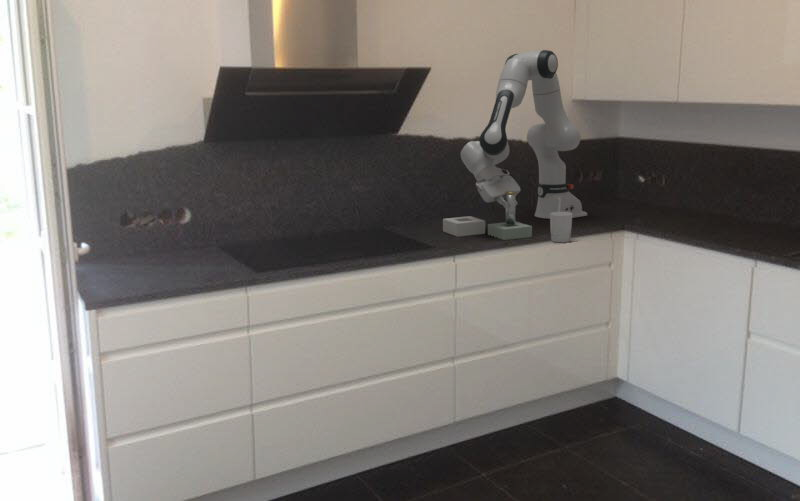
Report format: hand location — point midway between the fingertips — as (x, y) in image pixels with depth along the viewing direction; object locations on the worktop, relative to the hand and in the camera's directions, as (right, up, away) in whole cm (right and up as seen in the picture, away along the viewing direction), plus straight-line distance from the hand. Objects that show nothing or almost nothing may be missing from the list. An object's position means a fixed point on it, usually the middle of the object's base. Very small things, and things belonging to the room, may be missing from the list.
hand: (511, 206), depth 277 cm
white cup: (+16, -13, -8) cm, 23 cm away
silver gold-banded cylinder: (0, -6, +2) cm, 7 cm away
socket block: (0, -11, +3) cm, 11 cm away
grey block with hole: (-17, -10, +11) cm, 22 cm away
